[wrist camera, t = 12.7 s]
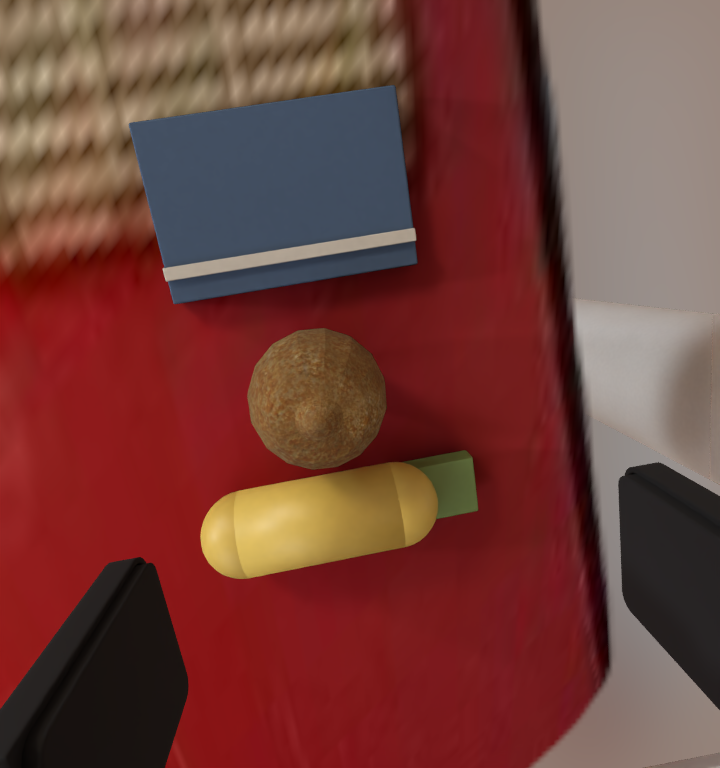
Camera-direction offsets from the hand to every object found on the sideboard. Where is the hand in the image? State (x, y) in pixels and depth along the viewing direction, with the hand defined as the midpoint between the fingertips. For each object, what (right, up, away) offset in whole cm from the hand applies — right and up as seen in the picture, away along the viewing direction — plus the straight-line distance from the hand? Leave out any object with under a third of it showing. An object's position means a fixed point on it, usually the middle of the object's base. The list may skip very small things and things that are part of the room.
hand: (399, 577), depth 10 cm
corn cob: (-2, -2, +18) cm, 18 cm away
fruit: (-3, +4, +17) cm, 17 cm away
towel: (-5, +13, +14) cm, 20 cm away
